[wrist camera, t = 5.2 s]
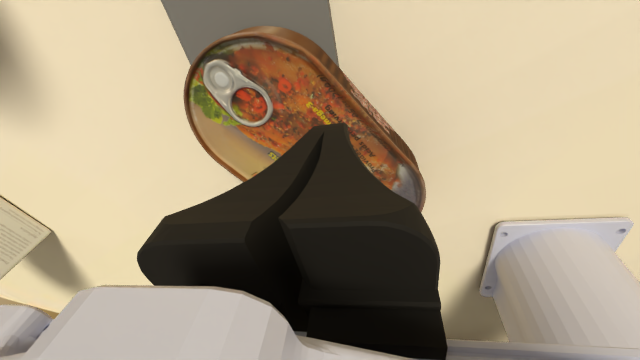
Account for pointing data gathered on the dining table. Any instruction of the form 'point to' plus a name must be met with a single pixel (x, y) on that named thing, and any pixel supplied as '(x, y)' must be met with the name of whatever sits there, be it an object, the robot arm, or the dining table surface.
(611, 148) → the dining table surface
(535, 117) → the dining table surface
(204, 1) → the mat
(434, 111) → the dining table surface
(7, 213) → the skincare box
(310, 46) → the tin
